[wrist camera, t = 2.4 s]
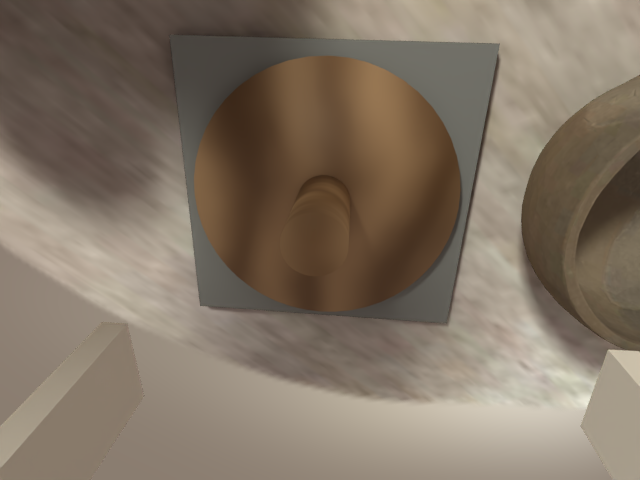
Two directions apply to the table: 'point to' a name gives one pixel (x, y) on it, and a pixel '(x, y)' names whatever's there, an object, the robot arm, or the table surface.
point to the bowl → (591, 216)
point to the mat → (394, 56)
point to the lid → (327, 183)
